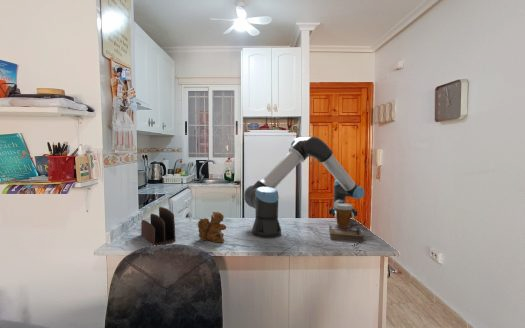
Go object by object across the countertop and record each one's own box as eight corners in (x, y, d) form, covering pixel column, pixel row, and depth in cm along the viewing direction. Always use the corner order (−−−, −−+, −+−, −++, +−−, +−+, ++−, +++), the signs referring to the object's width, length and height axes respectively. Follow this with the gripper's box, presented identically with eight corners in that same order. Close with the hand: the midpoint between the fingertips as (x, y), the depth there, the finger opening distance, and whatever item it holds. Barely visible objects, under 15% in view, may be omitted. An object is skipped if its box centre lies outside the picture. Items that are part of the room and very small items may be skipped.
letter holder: (161, 231, 141) (160, 204, 140) (175, 241, 125) (175, 212, 124) (140, 235, 134) (140, 207, 133) (153, 246, 119) (153, 215, 118)
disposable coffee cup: (350, 223, 153) (350, 203, 152) (354, 228, 143) (354, 206, 142) (333, 223, 154) (333, 202, 153) (336, 228, 144) (336, 206, 143)
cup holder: (329, 229, 146) (329, 224, 146) (358, 231, 143) (358, 226, 143) (330, 239, 131) (330, 233, 131) (363, 241, 128) (363, 236, 128)
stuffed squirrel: (225, 242, 124) (225, 215, 124) (194, 243, 124) (194, 215, 123) (227, 235, 134) (227, 209, 134) (198, 235, 134) (198, 209, 133)
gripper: (358, 213, 164) (364, 224, 142) (323, 211, 168) (324, 221, 146) (358, 201, 163) (365, 210, 141) (323, 200, 167) (324, 208, 145)
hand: (344, 216), depth 143 cm, fingers closed on disposable coffee cup, 8 cm apart
